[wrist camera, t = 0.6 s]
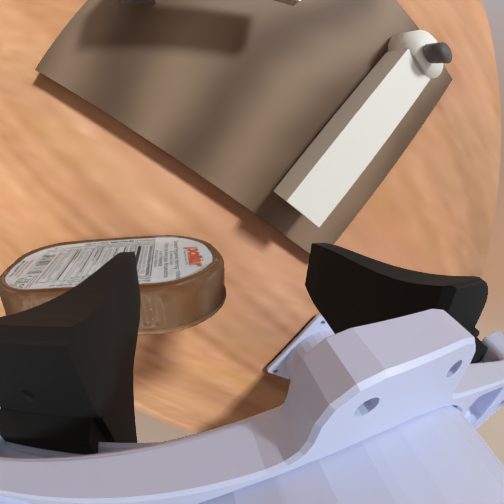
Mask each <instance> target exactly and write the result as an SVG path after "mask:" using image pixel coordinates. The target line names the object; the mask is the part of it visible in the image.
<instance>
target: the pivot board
mask: <svg viewBox="0 0 504 504" xmlns="http://www.w3.org/2000/svg"><path fill="white" fill-rule="evenodd" d="M416 30H419V28H418V27H417V26H416V24H415V23H414V22H413V20H412V19H411V18H410V17H409V15H408V14H407V13H406V12H405V10H404V9H403V8H402V7H401V6H400V5H399V3H398V2H397V1H396V0H300V1H299V2H298V3H297V4H295V5H294V6H292V5H288V4H285V3H281V2H277V1H274V0H157V1H156V3H119V2H118V0H88V1H87V2H86V3H85V4H84V5H83V6H82V7H81V8H80V10H79V11H78V12H77V13H76V14H75V15H74V17H73V18H72V19H71V20H70V22H69V23H68V24H67V25H66V27H65V28H64V29H63V30H62V32H61V33H60V34H59V36H58V37H57V38H56V40H55V41H54V42H53V44H52V45H51V47H50V48H49V50H48V51H47V52H46V54H45V55H44V57H43V58H42V60H41V61H40V63H39V64H38V66H37V68H36V69H35V70H37V71H38V72H40V73H42V74H43V75H45V76H47V77H48V78H50V79H52V80H53V81H55V82H57V83H58V84H60V85H62V86H63V87H65V88H67V89H68V90H70V91H71V92H73V93H75V94H76V95H78V96H80V97H81V98H83V99H84V100H86V101H88V102H89V103H91V104H92V105H94V106H96V107H97V108H99V109H100V110H102V111H103V112H105V113H107V114H108V115H110V116H111V117H113V118H114V119H116V120H118V121H119V122H121V123H122V124H124V125H125V126H127V127H128V128H130V129H131V130H133V131H135V132H136V133H138V134H139V135H141V136H142V137H144V138H145V139H147V140H148V141H150V142H151V143H153V144H154V145H156V146H157V147H159V148H160V149H162V150H163V151H165V152H166V153H168V154H169V155H171V156H172V157H174V158H175V159H177V160H178V161H180V162H181V163H183V164H184V165H186V166H187V167H188V168H190V169H191V170H193V171H194V172H196V173H197V174H199V175H200V176H202V177H203V178H205V179H206V180H207V181H209V182H210V183H212V184H213V185H215V186H216V187H218V188H219V189H220V190H222V191H223V192H225V193H226V194H228V195H229V196H230V197H232V198H233V199H235V200H236V201H238V202H239V203H240V204H242V205H243V206H245V207H246V208H247V209H249V210H250V211H252V212H253V213H254V214H256V215H257V216H259V217H260V218H261V219H263V220H264V221H266V222H267V223H268V224H270V225H271V226H272V227H274V228H275V229H277V230H278V231H279V232H281V233H282V234H283V235H285V236H286V237H288V238H289V239H290V240H292V241H293V242H294V243H296V244H297V245H298V246H300V247H301V248H303V249H304V250H305V251H307V252H308V253H309V254H310V251H311V245H312V243H328V244H332V245H333V244H334V243H335V242H336V241H337V239H338V238H339V237H340V236H341V234H342V233H343V232H344V231H345V229H346V228H347V227H348V225H349V224H350V223H351V222H352V220H353V219H354V218H355V217H356V215H357V214H358V213H359V211H360V210H361V209H362V208H363V206H364V205H365V204H366V202H367V201H368V200H369V198H370V197H371V196H372V194H373V193H374V192H375V190H376V189H377V188H378V186H379V185H380V184H381V182H382V181H383V180H384V178H385V177H386V176H387V174H388V173H389V172H390V170H391V169H392V167H393V166H394V165H395V163H396V162H397V161H398V159H399V158H400V156H401V155H402V154H403V152H404V151H405V149H406V148H407V147H408V145H409V144H410V142H411V141H412V139H413V138H414V137H415V135H416V134H417V132H418V131H419V129H420V128H421V126H422V125H423V124H424V122H425V121H426V119H427V118H428V116H429V115H430V113H431V112H432V110H433V109H434V107H435V106H436V104H437V103H438V101H439V100H440V98H441V96H442V95H443V93H444V92H445V90H446V89H447V87H448V86H449V84H450V82H451V81H452V78H451V76H450V74H449V73H448V71H447V69H446V68H445V66H444V65H443V70H442V72H441V74H440V75H439V76H438V77H436V78H429V79H430V80H429V82H428V83H427V85H426V86H425V88H424V89H423V90H422V92H421V93H420V95H419V96H418V98H417V99H416V100H415V102H414V103H413V105H412V106H411V107H410V109H409V110H408V112H407V113H406V114H405V116H404V117H403V118H402V120H401V121H400V123H399V124H398V125H397V127H396V128H395V129H394V131H393V132H392V134H391V135H390V136H389V138H388V139H387V140H386V142H385V143H384V144H383V146H382V147H381V148H380V150H379V151H378V152H377V154H376V155H375V156H374V158H373V159H372V160H371V162H370V163H369V164H368V166H367V167H366V168H365V170H364V171H363V172H362V174H361V175H360V176H359V177H358V179H357V180H356V181H355V183H354V184H353V185H352V187H351V188H350V189H349V190H348V192H347V193H346V194H345V196H344V197H343V198H342V199H341V201H340V202H339V203H338V204H337V206H336V207H335V208H334V210H333V211H332V212H331V213H330V215H329V216H328V217H327V218H326V220H325V221H324V222H323V223H322V225H321V226H320V227H318V226H317V225H315V224H314V223H313V222H312V221H310V220H309V219H308V218H306V217H305V216H304V215H303V214H301V213H300V212H299V211H298V210H296V209H295V208H294V207H293V206H291V205H290V204H289V203H288V202H286V201H285V200H284V199H283V198H281V197H280V196H279V195H278V194H276V193H275V192H274V190H275V188H276V187H277V186H278V185H279V183H280V182H281V181H282V180H283V178H284V177H285V176H286V174H287V173H288V172H289V171H290V169H291V168H292V167H293V166H294V164H295V163H296V162H297V161H298V159H299V158H300V157H301V156H302V154H303V153H304V152H305V151H306V149H307V148H308V147H309V146H310V144H311V143H312V142H313V141H314V139H315V138H316V137H317V136H318V135H319V133H320V132H321V131H322V130H323V128H324V127H325V126H326V125H327V123H328V122H329V121H330V120H331V119H332V117H333V116H334V115H335V114H336V112H337V111H338V110H339V109H340V108H341V106H342V105H343V104H344V103H345V101H346V100H347V99H348V98H349V97H350V95H351V94H352V93H353V92H354V91H355V89H356V88H357V87H358V86H359V85H360V83H361V82H362V81H363V80H364V79H365V77H366V76H367V75H368V74H369V73H370V71H371V70H372V69H373V68H374V67H375V65H376V64H377V63H378V62H379V61H380V59H381V58H382V57H383V56H384V55H385V54H386V52H388V43H389V41H390V39H391V37H392V36H394V35H396V34H400V33H405V32H410V31H416ZM423 53H424V56H425V58H426V60H427V61H428V62H430V63H432V64H433V63H450V62H451V60H452V53H451V50H450V48H449V46H448V45H447V44H446V43H443V42H441V43H431V44H425V45H424V47H423Z"/></svg>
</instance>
